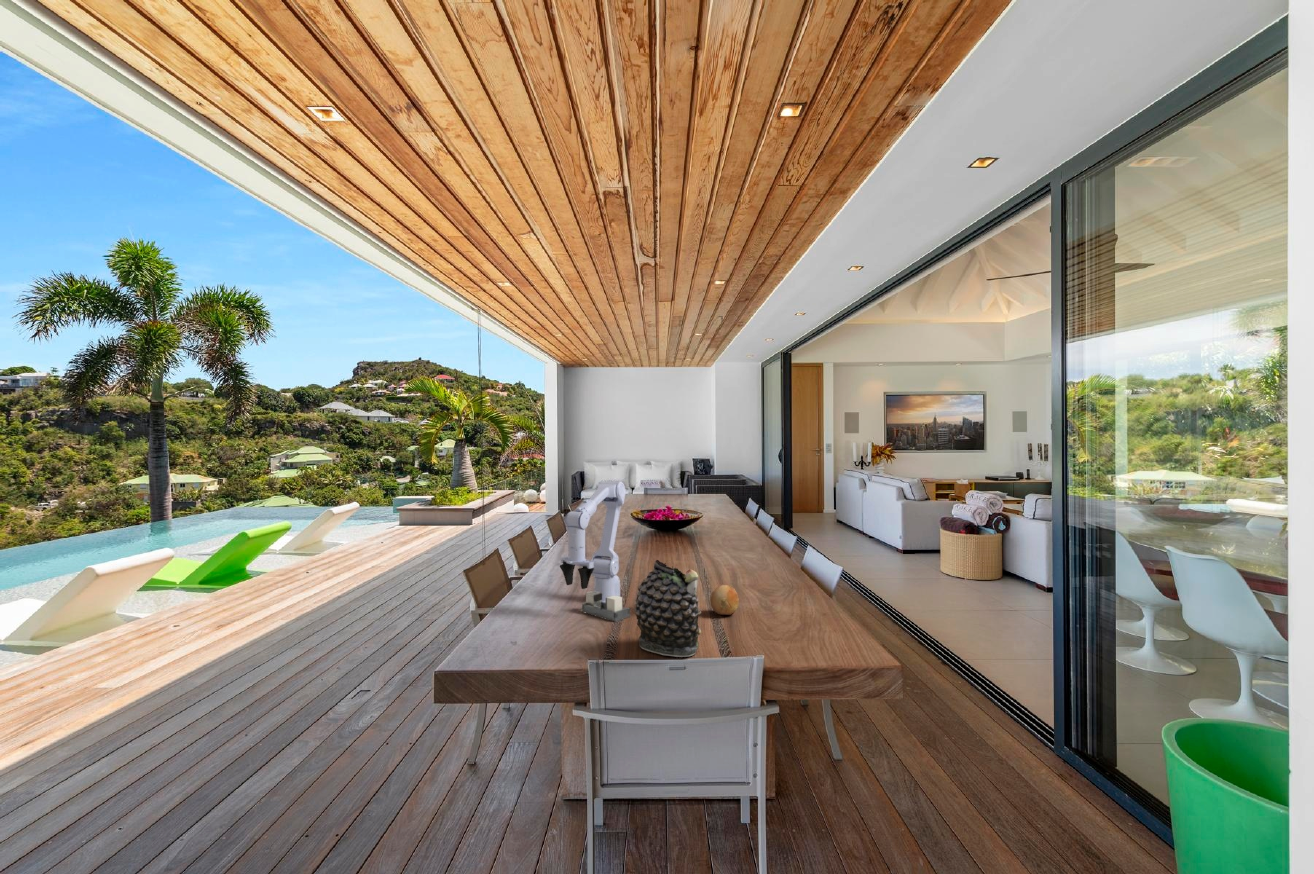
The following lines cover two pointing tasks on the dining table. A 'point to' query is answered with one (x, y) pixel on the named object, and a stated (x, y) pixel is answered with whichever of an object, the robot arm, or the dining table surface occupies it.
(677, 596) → the scaly pinecone figurine
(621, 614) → the rail
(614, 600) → the cream rectangular block
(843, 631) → the dining table surface
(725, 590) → the onion
